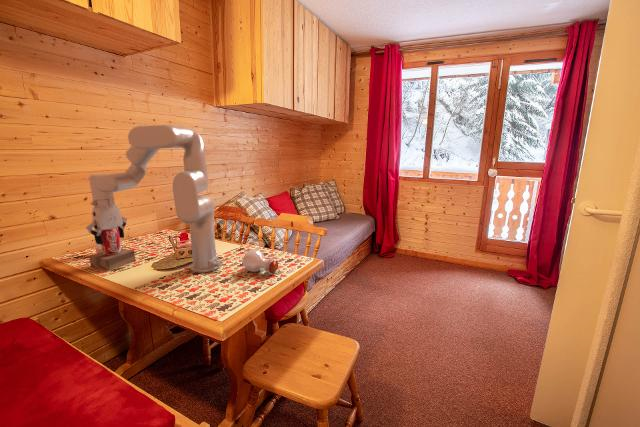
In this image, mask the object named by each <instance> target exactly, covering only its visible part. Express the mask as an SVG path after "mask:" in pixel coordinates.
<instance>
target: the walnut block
mask: <svg viewBox="0 0 640 427" xmlns="http://www.w3.org/2000/svg"><path fill="white" fill-rule="evenodd" d="M88 257H89V262H90V267H91V268H93V269H94V268H95V269H99V270H104V271H109V272H110V271H112V270H115V269H119V268H120V267H125V266H126V265H128V264H132V263H134V262H136V255H135V250H131V249H125V248H121V251H120V252H119V253H118V254H115V255H106V254H103V252H101V253H98V254H97V253H95V254H92V255H89V256H88Z"/></svg>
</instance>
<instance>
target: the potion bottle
mask: <svg viewBox="0 0 640 427" xmlns="http://www.w3.org/2000/svg"><path fill="white" fill-rule="evenodd" d="M242 266H243V267H244V269H245V270H246V271H249V272H251V273H256V272H259V271H262V270H264V272H266V273H267V274H269V275H275V274H276V272H277V270H278V268H279V261H278V259H276V260H275V258H274V256H273V257H272V258H270V259H269V258H266V255H264V253H263V252H262V251H261V250H259V249H250V250H248V251H247V252H246V253H245V254H244V255H243V257H242Z"/></svg>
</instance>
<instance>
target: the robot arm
mask: <svg viewBox="0 0 640 427" xmlns="http://www.w3.org/2000/svg"><path fill="white" fill-rule="evenodd" d="M127 140H128V143H129V145H131V146H130V147H129V148H128V149H127V150H126V152H125V156H126V159H127V160H128V161H129V162H130V163H131V164H130V166H128V168H127V169H126V171H124V172H119V173H118V172H117V173H109V174H106V173H98V174H91V175H90V176H89V177H88V181H89V187H90V191H91V197H92V201H91V202H90V205H91V206H92V212H91V214H92V216H91V217H92V220H93V222H92V221H91V223H90V224H88V225H87V226H86V227H85V229H86V230H87V231H88V233H90V234H91V235H92V236H94V242H96V243H95V245H96V244H103V242H102V236H101V235H100V233H101V232H102V230H108V229H112V228H115V227H117V229H118V230H119V234H120V239H124V238H125V231H124V230H125V226H126V225H127V221H128V218H127V217H123V216H122V213H121V211H120V208H119V206H118V204H117V203H115V202H116V201H115V196H114V193H118V192H122V191H128V190H132V189H134V188H135V187H137V186H138V185H139V183H141V181H142V180H143V179H144V177H145V175H146V173H147V169H148V168H147V165H148V164H149V162H150V161H151V160H152V159H153V158H154V157H155V155H156V154H157V153H158V152H159V150H160V149H183V150H184V151H183V158H182V160H183V161H182V162H183V171H180V172H178V173H177V174H175V176H174V178H173V179H172V180H173V181H172V194H173V202H174V208H175V209H174V210H175V214H176V216H177V217H178V219H179V220H180V221H181V222H183V223H185V224H189V233H190V234H189V235H190V236H189V237H190V242H191V244H190V245H191V255H192V263H191V264H190V265H189V271H191V272H193V273H198V274H199V273H200V274H201V273H209V272H212V271H215V270H218V269H219V268H221V267H222V265H223V264H224V261H223V260H220V259H219V256H217V253H216V249H217V248H216V239H215V238H216V237H215V225H214V222H215V221H214V217H215V204H214V202H213V200H212V199H211V198H210V197H208V196H207V195H202V194H201V195H199V193H202V192H204V191H206V190H207V189H208V186H209V176H208V167H207V160H206V147H205V142H204V139H203V138H202V136H201V135H200V134H199V133H198V132H197V131H196V130H193V129H191V128H190V127H189V128H188V127H184V126H178V125H177V126H176V125H168V124H158V125H137V126H134V127H133V128H131V129H130V130H129V132H128V134H127Z"/></svg>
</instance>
